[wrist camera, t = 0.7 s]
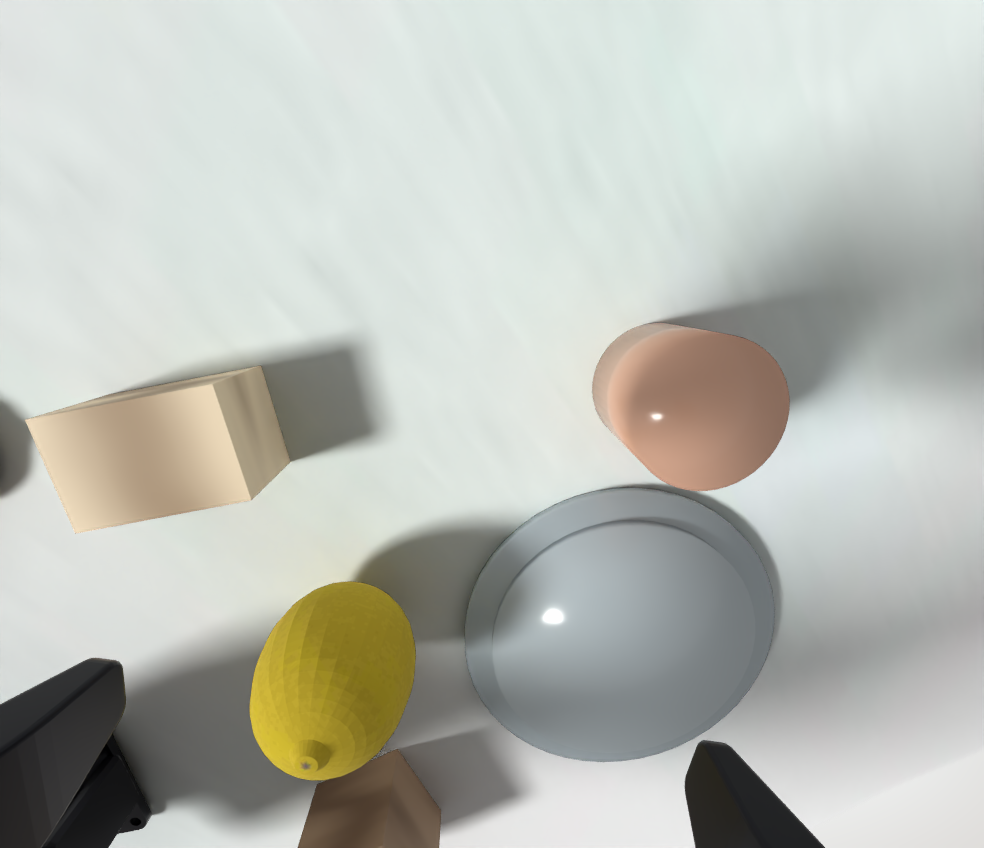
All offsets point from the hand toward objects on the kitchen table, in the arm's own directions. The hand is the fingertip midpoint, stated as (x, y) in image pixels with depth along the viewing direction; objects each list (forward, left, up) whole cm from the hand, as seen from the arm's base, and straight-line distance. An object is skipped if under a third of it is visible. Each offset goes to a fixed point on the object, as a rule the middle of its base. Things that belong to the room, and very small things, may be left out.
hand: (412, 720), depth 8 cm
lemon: (-5, -6, -14) cm, 16 cm away
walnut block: (-7, -17, -14) cm, 23 cm away
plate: (+6, -10, -13) cm, 18 cm away
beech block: (-9, +3, -14) cm, 17 cm away
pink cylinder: (+9, +1, -14) cm, 16 cm away
